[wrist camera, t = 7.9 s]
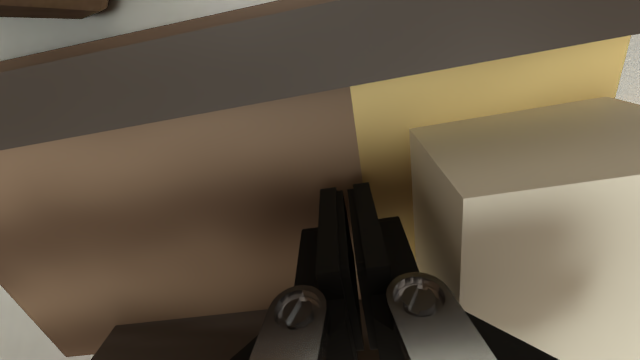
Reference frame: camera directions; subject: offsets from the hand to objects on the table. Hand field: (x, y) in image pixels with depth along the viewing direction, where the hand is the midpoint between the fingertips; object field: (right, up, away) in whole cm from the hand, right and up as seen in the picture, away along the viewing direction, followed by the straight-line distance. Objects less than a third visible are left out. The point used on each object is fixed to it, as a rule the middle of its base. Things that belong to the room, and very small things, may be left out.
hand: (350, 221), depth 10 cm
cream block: (+5, +1, 0) cm, 6 cm away
